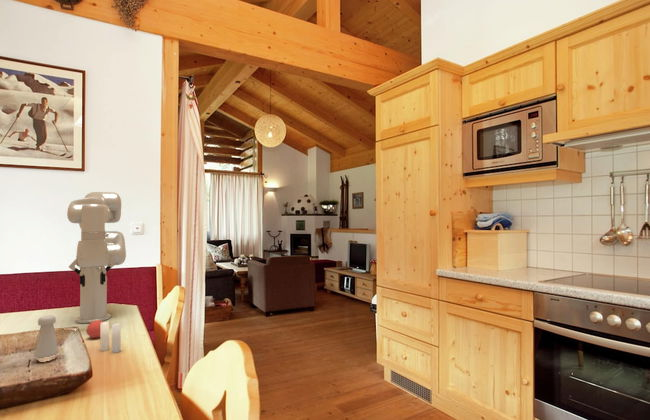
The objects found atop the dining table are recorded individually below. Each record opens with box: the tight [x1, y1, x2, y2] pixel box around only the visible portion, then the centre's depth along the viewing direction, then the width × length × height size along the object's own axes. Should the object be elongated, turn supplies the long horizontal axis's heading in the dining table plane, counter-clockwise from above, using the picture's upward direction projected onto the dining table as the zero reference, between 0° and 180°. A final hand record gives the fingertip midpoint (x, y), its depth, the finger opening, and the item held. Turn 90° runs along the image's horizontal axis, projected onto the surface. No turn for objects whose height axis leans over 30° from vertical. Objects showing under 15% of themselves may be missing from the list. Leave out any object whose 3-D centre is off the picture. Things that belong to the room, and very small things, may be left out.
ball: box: [86, 320, 104, 339], centre depth 133 cm, size 6×6×6 cm
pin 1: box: [99, 321, 110, 352], centre depth 121 cm, size 2×2×9 cm
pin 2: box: [111, 322, 122, 354], centre depth 119 cm, size 2×2×9 cm
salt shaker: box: [34, 314, 59, 358], centre depth 112 cm, size 6×6×13 cm
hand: (92, 284), depth 141 cm, fingers open, 5 cm apart
